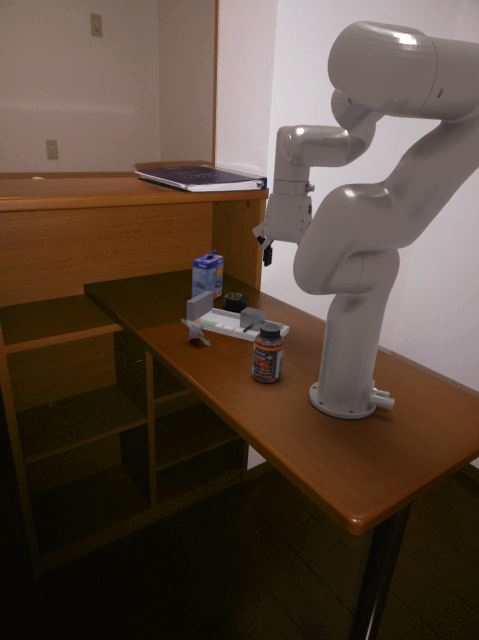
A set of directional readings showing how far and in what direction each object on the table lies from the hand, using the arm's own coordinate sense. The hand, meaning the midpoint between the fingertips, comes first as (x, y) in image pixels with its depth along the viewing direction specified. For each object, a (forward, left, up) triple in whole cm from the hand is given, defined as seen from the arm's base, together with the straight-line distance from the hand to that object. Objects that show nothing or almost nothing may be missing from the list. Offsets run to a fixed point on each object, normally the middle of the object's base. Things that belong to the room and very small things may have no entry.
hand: (283, 267), depth 105 cm
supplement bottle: (-5, +19, -18) cm, 27 cm away
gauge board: (+11, 0, -18) cm, 21 cm away
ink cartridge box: (+29, -16, -18) cm, 38 cm away
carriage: (+7, +1, -16) cm, 18 cm away
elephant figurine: (+17, +12, -18) cm, 27 cm away
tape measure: (+17, -13, -18) cm, 29 cm away
